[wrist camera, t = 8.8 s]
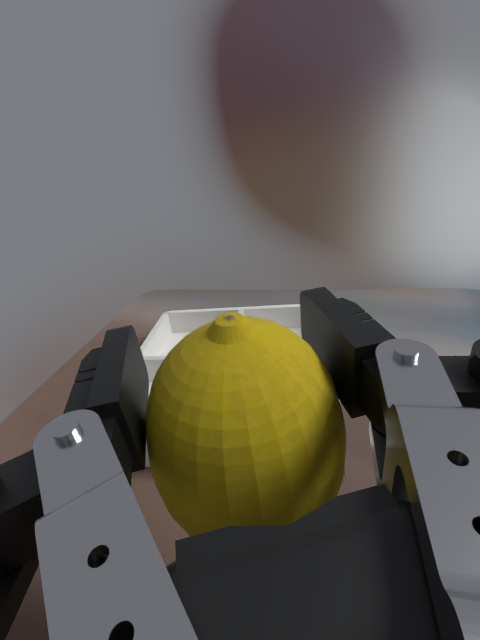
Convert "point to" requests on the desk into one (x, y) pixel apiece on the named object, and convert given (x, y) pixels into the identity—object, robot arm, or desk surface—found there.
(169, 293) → the desk surface
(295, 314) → the divided tray
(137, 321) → the desk surface
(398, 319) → the desk surface
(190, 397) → the lemon
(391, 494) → the robot arm
